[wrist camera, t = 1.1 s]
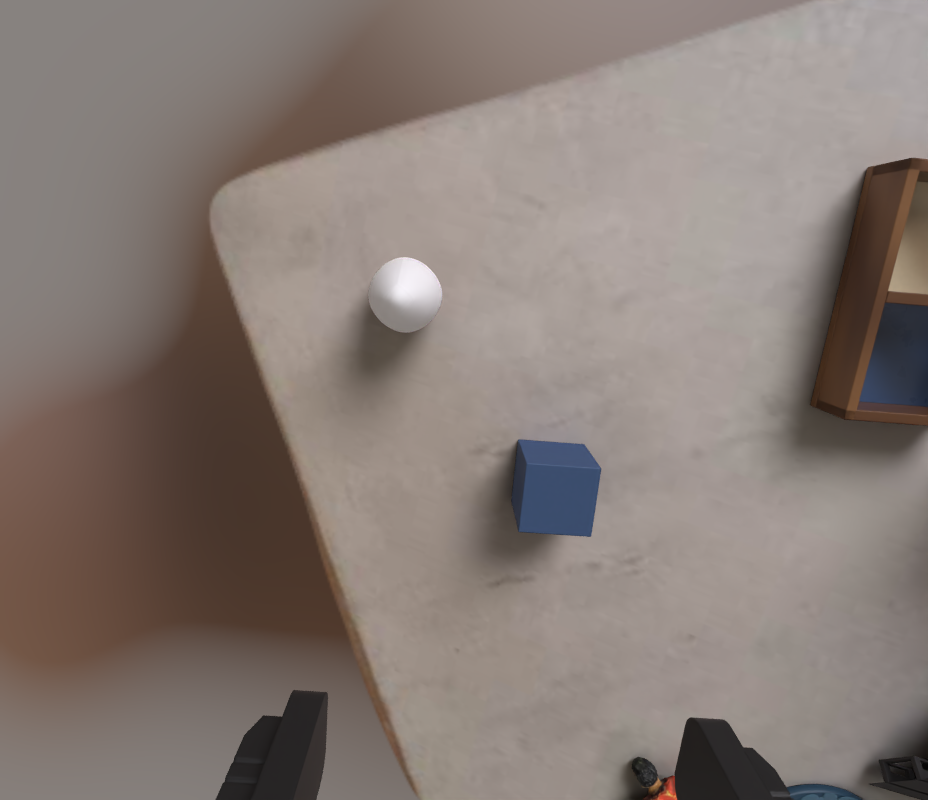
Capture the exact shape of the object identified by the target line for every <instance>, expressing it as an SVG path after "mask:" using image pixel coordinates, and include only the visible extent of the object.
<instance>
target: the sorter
mask: <svg viewBox="0 0 928 800" xmlns="http://www.w3.org/2000/svg"><path fill="white" fill-rule="evenodd" d="M810 405H811V406H813V407H815V408H818V409H820V410H823V411H825V412H827V413H830V414H832V415H835V416H837V417H840V418H842V419H845V420H858V421H871V422H884V423H897V424H910V425H923V426H928V159H920V158H909V159H904V160H899V161H895V162H890V163H886V164H881V165H877V166H872V167H868V168H867V172H866V176H865V180H864V184H863V189H862V193H861V197H860V201H859V205H858V209H857V213H856V218H855V222H854V226H853V230H852V234H851V238H850V242H849V247H848V251H847V255H846V259H845V263H844V267H843V271H842V276H841V280H840V284H839V288H838V292H837V296H836V300H835V305H834V309H833V313H832V317H831V321H830V325H829V330H828V334H827V338H826V342H825V346H824V350H823V354H822V359H821V363H820V367H819V371H818V375H817V379H816V383H815V388H814V392H813V396H812V400H811V404H810Z"/></svg>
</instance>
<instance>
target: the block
mask: <svg viewBox="0 0 928 800" xmlns="http://www.w3.org/2000/svg"><path fill="white" fill-rule="evenodd" d="M600 474H601V468H600V466H599V465H598V463H597V462H596V461H595V459H594V458H593V456H592V455H591V453H590V452H589V451H588V449H587V448H586V446H585V445H584V444H572V443H558V442H545V441H531V440H518V445H517V454H516V463H515V472H514V481H513V490H512V499H511V502H512V506H513V510H514V514H515V519H516V523H517V527H518V531H519V532H528V533H542V534H557V535H572V536H587V537H591V533H592V527H593V520H594V513H595V507H596V500H597V494H598V487H599V480H600Z"/></svg>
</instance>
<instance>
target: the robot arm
mask: <svg viewBox="0 0 928 800" xmlns="http://www.w3.org/2000/svg"><path fill="white" fill-rule="evenodd" d="M327 706H328V694H327V692H314V691H298V690H294V691H293V692H292V693H291V695H290V698H289V700H288V703H287V706H286V708H285V711H284V714H283V716H282V717H277V716H262V718H261V719H260V720H259V721H258V722H257V723H256V724H255V725H254V726H253V727H252V728H251V729H250V730H249V731H248V732H247V733H246V734H245V735H244V737H243V740H242V742H241V744H240V746H239V749H238V751H237V754H236V755H235V758H234V762H233V763H232V764H231V766H230V769H229V771H228V773H227V775H226V778H225V782H224V783H223V784H222V787H221V789H220V791H219V793H218V796H217V798H216V800H316V799H317V795H318V791H319V787H320V782H321V778H322V773H323V767H324V760H325V752H326V731H327ZM675 792H676V797H677V800H794V799H793V798H791V796H790V792H789V791H788V789H787V788H786V786H785V785H784V783H783V781H782V780H781V778H780V777H779V775H778V773H777V772H776V770H775V769H774V768H773V767H772V766H771V765H770V764H769V763H768V762H767V761H765V760H764V759H763V758H762V757H761V756H760V755H759V754H758V753H757V752H756V751H755V750H754V749H753V748H743V746H742V745H741V743H740V741H739V740H738V738H737V736H736V735H735V733H734V731H733V730H732V728H731V726H730V725H729V724H728V723H727V722H726V721H725V720H721V719H706V718H689V719H688V720H687V722H686V725H685V729H684V734H683V738H682V743H681V747H680V752H679V756H678V761H677V765H676V770H675Z"/></svg>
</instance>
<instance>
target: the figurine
mask: <svg viewBox="0 0 928 800" xmlns="http://www.w3.org/2000/svg"><path fill="white" fill-rule="evenodd" d="M632 769H633V772H634V774H635V776H637V779H638V781H639V782H640V784H641V786H642V787H643V788H649V790H648V794H647V796H646V797H644V799H643V800H677V797H676V792H675V776H670V777H668V778H664V779H662V780H661V781H660V780H659V779H658V775H657V770H656V769H655V766H654V765H653V764H652V763H651V762H649V761H648V760H647V759H645V758H640V757H637V758H636V759H635V760H634V761H633V763H632Z"/></svg>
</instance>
